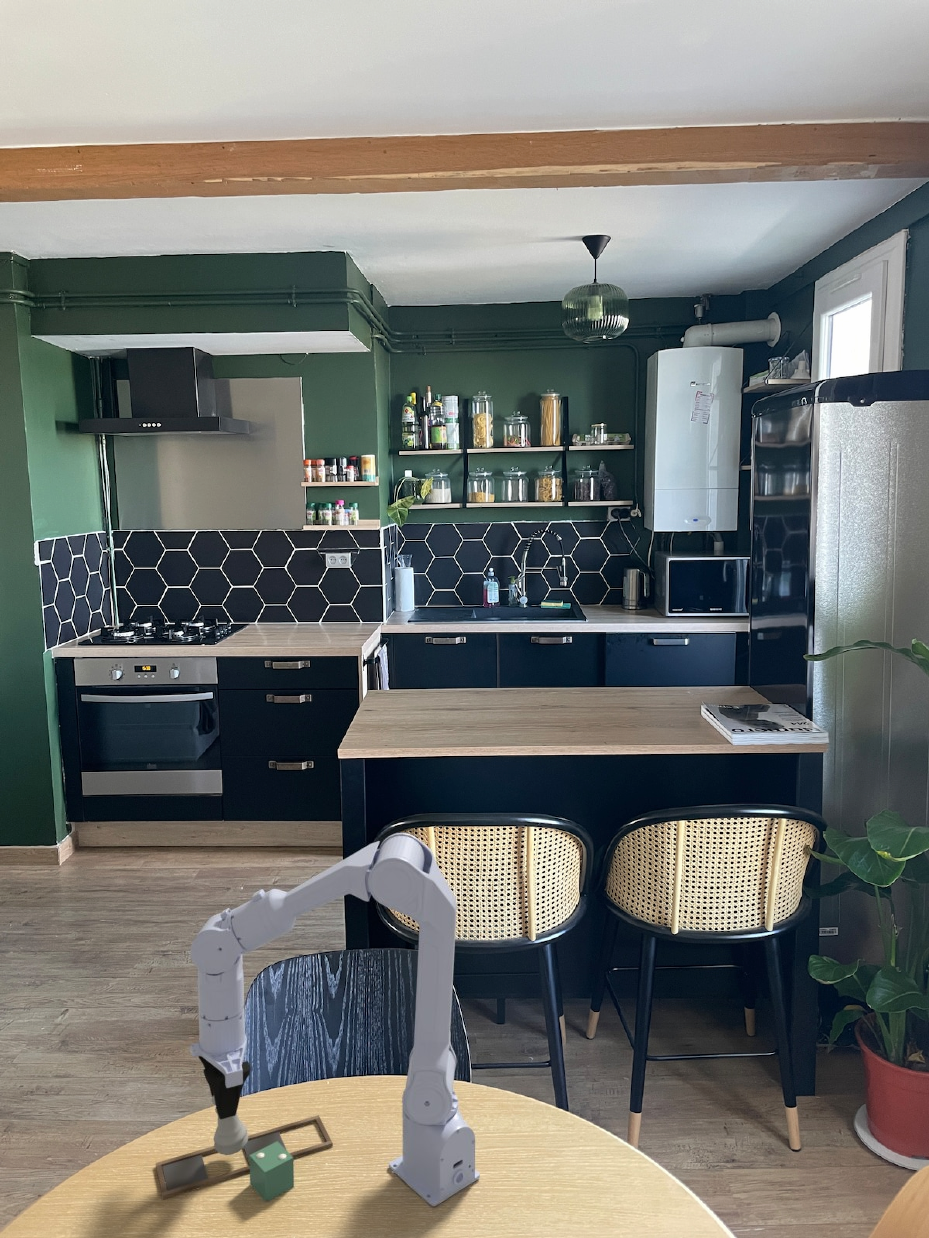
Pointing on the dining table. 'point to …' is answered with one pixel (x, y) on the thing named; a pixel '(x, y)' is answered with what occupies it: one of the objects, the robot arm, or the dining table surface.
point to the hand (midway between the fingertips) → (224, 1107)
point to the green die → (271, 1171)
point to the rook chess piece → (230, 1134)
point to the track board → (192, 1173)
